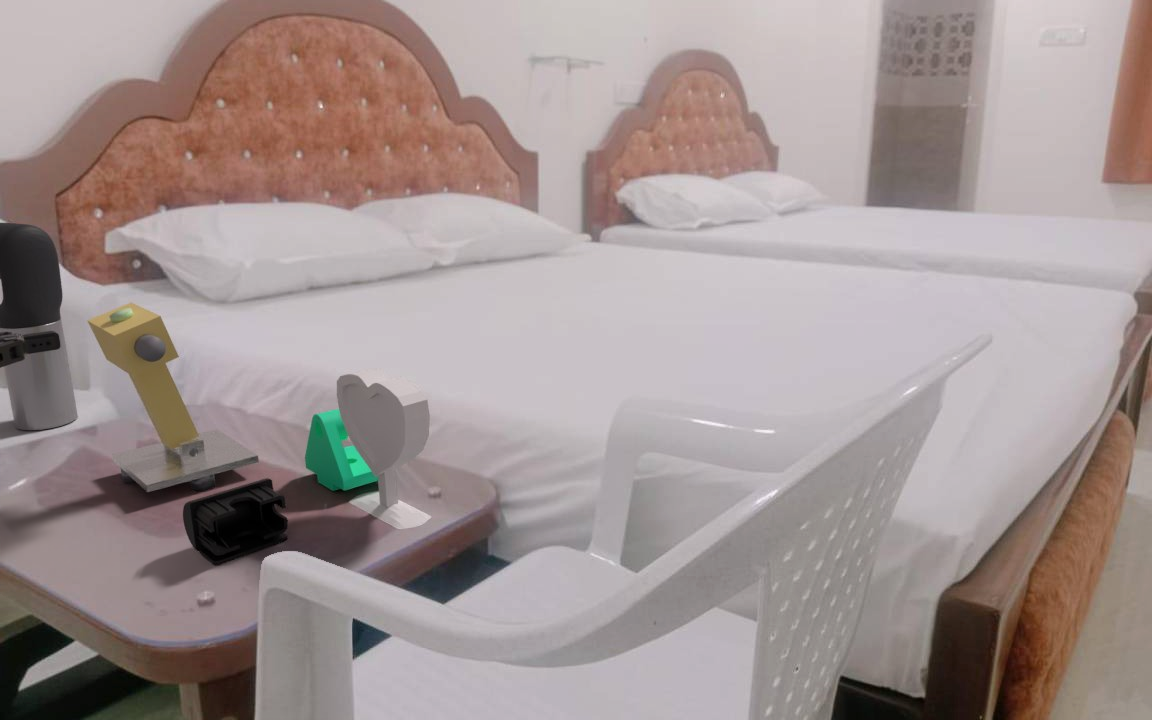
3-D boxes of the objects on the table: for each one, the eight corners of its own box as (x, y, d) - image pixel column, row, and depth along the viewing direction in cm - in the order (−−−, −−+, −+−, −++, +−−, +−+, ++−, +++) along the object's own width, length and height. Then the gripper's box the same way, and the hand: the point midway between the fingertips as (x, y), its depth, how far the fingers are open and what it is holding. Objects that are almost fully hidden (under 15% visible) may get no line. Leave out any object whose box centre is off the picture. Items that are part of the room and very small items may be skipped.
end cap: (266, 521, 113) (260, 471, 111) (293, 539, 108) (287, 487, 106) (186, 548, 106) (179, 495, 104) (211, 568, 101) (203, 514, 99)
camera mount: (396, 482, 123) (389, 411, 120) (344, 498, 118) (336, 424, 115) (356, 461, 132) (349, 394, 129) (306, 475, 127) (298, 405, 124)
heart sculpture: (340, 497, 119) (328, 368, 114) (373, 486, 123) (363, 360, 118) (407, 534, 109) (397, 393, 104) (441, 521, 112) (433, 384, 107)
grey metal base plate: (114, 474, 128) (108, 434, 126) (220, 447, 138) (215, 410, 136) (149, 506, 117) (142, 464, 116) (261, 475, 127) (256, 435, 125)
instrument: (141, 435, 130) (80, 312, 121) (180, 415, 133) (124, 295, 125) (180, 465, 118) (116, 332, 110) (222, 443, 122) (163, 312, 113)
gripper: (-112, 383, 107) (50, 358, 119) (-98, 408, 98) (77, 378, 109) (-125, 323, 105) (41, 303, 117) (-112, 342, 96) (67, 318, 107)
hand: (58, 339), depth 113 cm, fingers closed
